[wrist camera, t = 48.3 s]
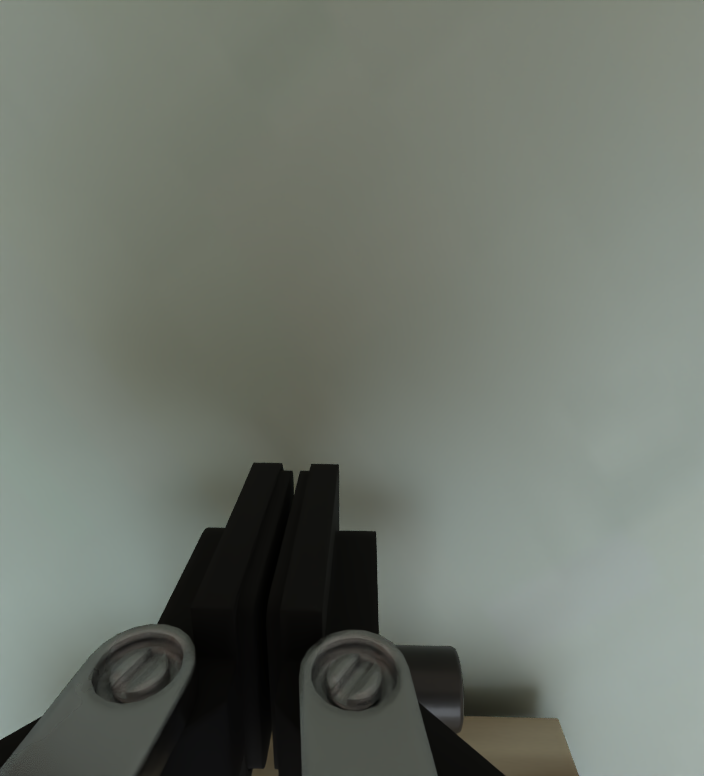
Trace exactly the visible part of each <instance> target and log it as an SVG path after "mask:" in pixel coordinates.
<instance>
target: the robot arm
mask: <svg viewBox="0 0 704 776" xmlns="http://www.w3.org/2000/svg"><path fill="white" fill-rule="evenodd" d="M271 734H272V737H273V755H274V768H275V769H278V774H279V776H505V775H504V774H503V773H502V772H501V771H499V770H498V769H497V768H496V767H495V766H494V765H492V764H491V763H490V762H489V761H488V760H487V759H485V758H484V757H483V756H482V755H481V754H479V753H478V752H477V751H476V750H475V749H474V748H472V747H471V746H470V745H469V744H468V743H466V742H465V741H464V740H463V739H462V738H461V737H459V736H458V735H457V734H456V733H455V732H453V731H452V730H451V729H450V728H449V727H448V726H446V725H445V724H444V723H443V722H442V721H440V720H439V719H438V718H437V717H436V716H435V715H433V714H432V713H431V712H430V711H429V710H427V709H426V708H425V707H424V706H423V705H422V704H420V703H419V702H418V700H417V697H416V693H415V689H414V685H413V682H412V678H411V674H410V670H409V667H408V664H407V662H406V660H405V658H404V656H403V654H402V652H401V651H400V650H399V649H398V648H397V647H396V646H395V645H394V644H393V643H392V642H391V641H389V640H387V639H386V638H384V637H382V636H381V635H379V626H378V585H377V545H376V531H339V464H311V467H310V471H300V474H299V478H298V482H297V486H296V490H295V494H294V482H293V472H292V471H284V469H283V465H282V463H253V465H252V467H251V470H250V472H249V474H248V477H247V479H246V481H245V483H244V486H243V488H242V490H241V493H240V495H239V497H238V500H237V502H236V504H235V506H234V509H233V511H232V513H231V516H230V518H229V520H228V523H227V525H226V527H225V528H210V527H208V528H206V529H205V530H204V532H203V533H202V535H201V537H200V539H199V541H198V543H197V545H196V547H195V549H194V551H193V553H192V555H191V557H190V559H189V561H188V563H187V565H186V567H185V569H184V571H183V573H182V575H181V577H180V579H179V581H178V583H177V585H176V587H175V589H174V591H173V593H172V595H171V597H170V599H169V602H168V604H167V606H166V608H165V610H164V612H163V614H162V616H161V618H160V620H159V622H158V624H149V625H144V626H139V627H134V628H132V629H129V630H127V631H124V632H122V633H119V634H117V635H116V636H114V637H113V638H111V639H110V640H108V641H106V642H105V643H103V644H102V645H101V646H100V647H99V648H98V649H97V650H96V651H95V652H94V653H93V654H92V655H91V656H90V657H89V658H88V659H87V661H86V662H85V663H84V664H83V666H82V667H81V668H80V669H79V671H78V672H77V673H76V674H75V676H74V677H73V678H72V679H71V681H70V682H69V683H68V684H67V686H66V687H65V688H64V690H63V691H62V692H61V693H60V695H59V696H58V697H57V698H56V700H55V701H54V702H53V703H52V705H51V706H50V707H49V708H48V710H47V711H46V712H45V713H44V715H43V716H42V717H40V718H38V719H37V720H35V721H33V722H31V723H30V724H28V725H26V726H24V727H22V728H21V729H19V730H17V731H15V732H14V733H12V734H10V735H8V736H7V737H5V738H3V739H1V740H0V776H251V775H252V771H253V769H264V768H265V765H266V761H267V756H268V750H269V745H270V739H271Z"/></svg>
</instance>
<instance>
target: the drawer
mask: <svg viewBox="0 0 704 776" xmlns="http://www.w3.org/2000/svg"><path fill="white" fill-rule="evenodd" d="M395 646H396V647H397V648H398V649H399V650H400V651H401V652H402V654H403V656H404V658H405V660H406V662H407V664H408V667H409V670H410V674H411V678H412V682H413V685H414V689H415V693H416V697H417V700H418V702H419V703H420V704H422V705H423V706H424V707H425V708H426V709H427V710H429V711H430V712H431V713H432V714H433V715H435V716H436V717H437V718H438V719H439V720H440V721H442V722H443V723H444V724H445V725H446V726H448V727H449V728H450V729H451V730H452V731H453V732H455V733H456V734H457V735H458V736H459V737H461V738H462V739H463V740H464V741H465V742H466V743H468V744H469V745H470V746H471V747H472V748H474V749H475V750H476V751H477V752H478V753H479V754H481V755H482V756H483V757H484V758H485V759H487V760H488V761H489V762H490V763H491V764H492V765H494V766H495V767H496V768H497V769H498V770H499V771H501V772H502V773H503V774H504V775H505V776H579V775H578V772H577V769H576V766H575V764H574V761H573V758H572V756H571V753H570V750H569V747H568V745H567V742H566V739H565V736H564V734H563V731H562V728H561V725H560V723H559V720H558V719H556V718H523V717H484V716H464V691H463V679H462V671H461V665H460V660H459V657H458V654H457V651H456V649H455V648H453V647H451V646H415V645H395ZM251 776H279V774H278V769H275V768H274V755H273V737H272V734H271V739H270V745H269V750H268V756H267V761H266V765H265V768H264V769H253V771H252V775H251Z"/></svg>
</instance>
